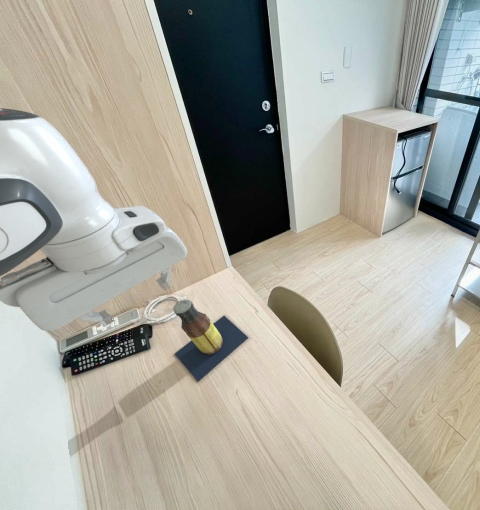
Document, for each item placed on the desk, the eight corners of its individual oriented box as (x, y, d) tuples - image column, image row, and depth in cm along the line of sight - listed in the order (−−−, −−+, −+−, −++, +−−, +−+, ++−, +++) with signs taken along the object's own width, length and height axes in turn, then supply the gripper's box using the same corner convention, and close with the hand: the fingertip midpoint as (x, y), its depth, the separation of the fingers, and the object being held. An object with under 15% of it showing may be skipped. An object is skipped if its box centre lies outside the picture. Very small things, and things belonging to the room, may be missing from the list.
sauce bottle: (218, 331, 80) (193, 289, 66) (227, 345, 77) (203, 304, 63) (196, 345, 77) (165, 304, 63) (205, 361, 73) (174, 321, 60)
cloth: (198, 381, 70) (197, 381, 69) (174, 354, 75) (174, 353, 75) (248, 337, 79) (248, 337, 79) (224, 315, 84) (224, 315, 84)
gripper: (-14, 300, 29) (72, 360, 38) (173, 215, 41) (203, 277, 50) (-25, 273, 32) (58, 335, 41) (153, 201, 43) (185, 262, 53)
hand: (139, 303), depth 46 cm, fingers open, 8 cm apart
